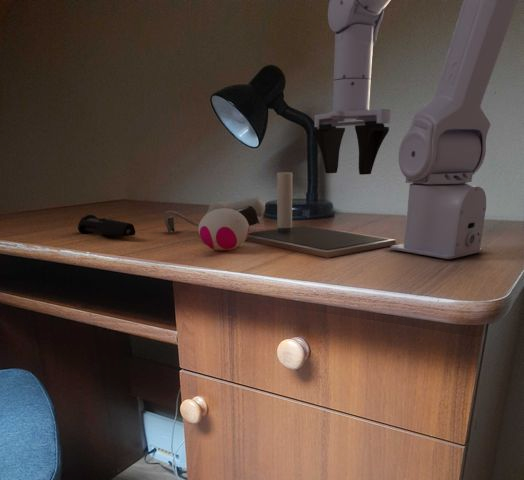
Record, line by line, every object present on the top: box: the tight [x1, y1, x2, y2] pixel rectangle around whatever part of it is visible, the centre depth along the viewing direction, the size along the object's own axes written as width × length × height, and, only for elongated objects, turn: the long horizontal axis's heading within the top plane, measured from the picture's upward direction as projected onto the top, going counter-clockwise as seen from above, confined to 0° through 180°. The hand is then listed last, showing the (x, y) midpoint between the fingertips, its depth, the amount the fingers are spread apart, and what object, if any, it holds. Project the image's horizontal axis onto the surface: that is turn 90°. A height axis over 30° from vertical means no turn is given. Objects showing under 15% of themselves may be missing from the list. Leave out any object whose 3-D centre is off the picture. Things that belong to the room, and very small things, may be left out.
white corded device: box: [163, 196, 266, 234], centre depth 84 cm, size 12×6×18 cm
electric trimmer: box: [77, 214, 136, 238], centre depth 84 cm, size 4×16×3 cm, turn 45°
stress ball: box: [197, 208, 250, 254], centre depth 70 cm, size 8×8×7 cm
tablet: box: [245, 225, 397, 259], centre depth 76 cm, size 20×14×1 cm
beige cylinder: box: [276, 171, 293, 232], centre depth 79 cm, size 2×2×9 cm
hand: (347, 173), depth 82 cm, fingers open, 7 cm apart
